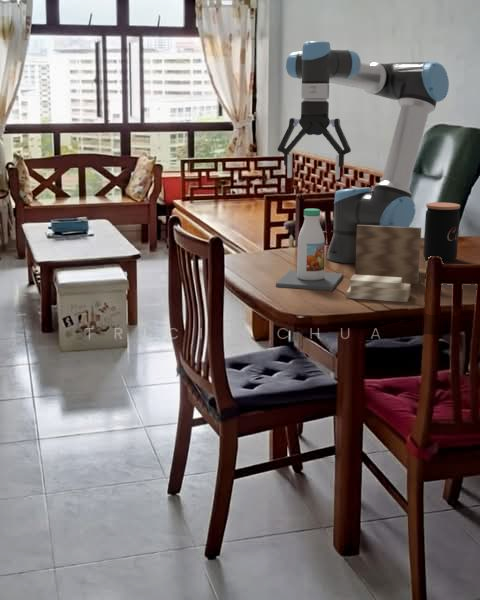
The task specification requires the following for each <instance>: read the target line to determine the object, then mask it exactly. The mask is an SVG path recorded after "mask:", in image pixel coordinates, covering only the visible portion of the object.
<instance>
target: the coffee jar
mask: <svg viewBox="0 0 480 600" xmlns="http://www.w3.org/2000/svg"><path fill="white" fill-rule="evenodd" d="M425 206H426V208H427V210H426V211H425V219H424V220H425V221H424V222H425V223H424V238H423V254H422V255H423V257H424V259H425V260H426V261H428V260H427V259H428V257H430V256H439V257H441V258H442V261H443V262H442V263H453V262H454V261H455V260H456V259H457V258H458V247H459V233H460V232H459V231H460V230H459V229H460V220H461V219H460V218H461V217H460V216H461V213H460V210H459V209H461V204H458V203H454V202H443V201H442V202H441V201H440V202H428V203H426V205H425Z"/></svg>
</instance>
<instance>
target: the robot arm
mask: <svg viewBox="0 0 480 600" xmlns="http://www.w3.org/2000/svg"><path fill="white" fill-rule="evenodd" d="M285 70H286V73H287V74H288V76H289V77H290V78H293V79H299V80H300V79H301V91H300V92H301V99H302V101H301V103H300V105H301V107H300V118H295V117H291V118H290V119H289V121H288V127H287V129H286V131H285V133H284V135H283V137H282V139H281V141H280V142H279V145H278V147H277V152H280V153H282V154H283V165H284V166H286V169H287V170H286V171H287V174H286V175H287V176H286V177H287V179H291V178H293V153H291V152H292V151H293V149H294V148H295V146H296V145H297V144H298V143H299V142H300V141H301V140H302V138H303V137H304V136H306V135H308V136H312V135H315V136H320V135H323V136H324V138H325V139H326V140H327V141H328V142H329V144H330V145H331V146H332V147H333V149H334V150H335V152H337V155H335V172H334V173H335V174H334V175H335V177H334V179H335V180H339V179H340V174H341V168H343V167H344V165H345V155H347V154H349V153H352V152H351V151H352V150H351V149H352V148H351V147H350V145H349V143H348V139H347V138H346V136H345V133H344V131H343V129H342V127H341V120H340V118H338V117H337V118H335V119H330V118H329V117H330V116H329V107H330V105H329V101H327V100H329V99H330V84H336V85H342V86H344V87H351V88H356V89H360V90H364V92H366V94H370V95H375V96H378V97H381V98H385V99H391V100H394V101H397V103H398V105H399V107H400V111H399V114H398V119H397V122H396V126H395V130H394V133H393V137H392V139H391V140H392V141H391V143H390V148H389V151H388V155H387V159H386V162H385V166H384V169H383V172H382V173H383V174H382V177H381V180H380V181H379V183H376V184H375V185H374V188H373V191H372V188H371V187H369V186H368V187H366V186H365V187H356V188H355V187H353V188H343V189H338V190H337V191H336V192H335V193H334V202H333V234H332V237H331V241H330V243H329V247H328V250H327V253H326V254H327V256H326V257H327V260H329V261H332V262H337V263H342V264H356V239H357V225H374V226H394V227H410V226H411V224H412V222H413V221H414V217H415V214H416V208H415V207H416V206H415V205H416V204H415V201H414V200H413V199H412V192H411V190H410V183H411V179H412V176H413V173H414V167H415V165H416V160H417V157H418V153H419V150H420V146H421V142H422V139H423V135H424V132H425V131H424V130H425V127H426V124H427V121H428V116H429V114H430V113H432V112H434V111H435V110H436V106H437V102H438V103H439V102H441V101H444V100H445V98H446V97H447V95H448V94H449V93H448V92H449V85H450V84H449V83H450V81H449V76H448V73H447V69H445V67H444V65H443V64H441V63H439V62H435V61H433V62H432V61H417V62H416V61H415V62H414V61H413V62H390V63H379V62H371V63H370V64H368V63H363V62H361V57H360V56H359V54H358V53H357V52H356V51H354V50H349V49H332V48H331V43H330V42H329V41H325V40H324V41H322V40H321V41H319V40H317V41H316V40H315V41H313V40H312V41H305V42H303V44H302V50H299V51H293V52H291V53H290V54H289V55H288V56H287V58H286V63H285ZM298 124H299V126H300V127H301V128H302V129H301V130H300V131H299V132H298V134H297V135H296V136H295V137H294V138H293V140H291V142H290V143H289V144H288V142H289V139H290V138H291V136H292V134H293V131H294V130H295V128H296V127H297V126H298ZM330 125H331V127H333V128H334V129H335V132H336V134H337V136H338V137H337V138H339V141H340V143H341V146H342V147H343V148H342V147H341V146H340V144H339V143H338V142H337V140H336V139H335V138H334V136H333V135H332V134H331V132H330V131H329V130H328V127H329V126H330ZM287 144H288V146H287ZM286 146H287V147H286ZM285 147H286V148H285Z"/></svg>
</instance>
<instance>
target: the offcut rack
mask: <svg viewBox="0 0 480 600" xmlns="http://www.w3.org/2000/svg"><path fill="white" fill-rule="evenodd" d="M421 239H422V227H414V226H411V227H410V226H409V227H394V226H374V225H357V239H356V263H355V266H354V271H355V272H354V274H352V276H351V277H350V279H349V288H348V289H346V290H347V291H346V293H345V297H346V299H358V300H359V299H360V300H370V301H371V300H374V301H385V302H399V303H400V302H401V303H408V300H409V298H410V296H411V285H412V284H413V285H419V282H420V276H419V274H420V260H421V258H420V257H421V242H422V241H421Z"/></svg>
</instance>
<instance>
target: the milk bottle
mask: <svg viewBox="0 0 480 600" xmlns="http://www.w3.org/2000/svg"><path fill="white" fill-rule="evenodd" d="M303 217H304V220H303V224H302V227H301V228H300V231H299V234H298V239H297V255H296V256H297V257H296V258H297V260H296V261H297V263H296V264H297V266H296V267H297V268H296V271H297V277H298V278H299V279H301V280H309V281H315V280H321V279H323V277H324V272H325V254H326V253H325V252H326V251H325V249H326V248H325V247H326V246H325V245H326V243H325V242H326V240H325V233H324V230H323V228H322V226H321V223H320V218H321V210H320V209H319V208H309V207H308V208H305V209H303Z"/></svg>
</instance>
